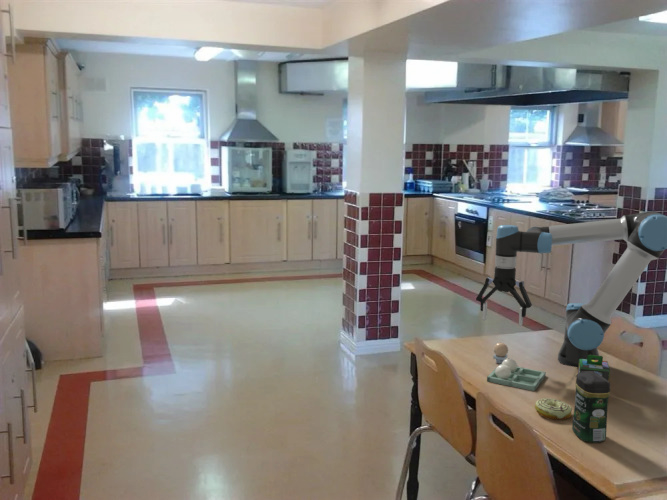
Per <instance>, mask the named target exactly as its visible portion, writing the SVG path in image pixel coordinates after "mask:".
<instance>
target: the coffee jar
mask: <svg viewBox="0 0 667 500" xmlns="http://www.w3.org/2000/svg"><path fill="white" fill-rule="evenodd" d="M610 395H611V382H610V380H609V381H607V380H606V379H605V378H603V377H602V376H600V375H599V374H597V373H595V372H594V371H581V372H580V373H579V374H578V373H577V375H576V378H575V397H574V408H573V417H572V425H571V429H572V431H573V432H574V434H575V435H576V436H577V438H579V439H581V441H583V442H589V443H594V444H596V443H602V442H604V441H605V440H606V439H607V428H608V427H607V422H608V421H607V420H608V405H609V404H608V403H609V397H610Z"/></svg>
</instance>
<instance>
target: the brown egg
mask: <svg viewBox="0 0 667 500" xmlns="http://www.w3.org/2000/svg"><path fill="white" fill-rule="evenodd" d="M493 353H494V355H497V356H499V357H504V356H506V355H508V353H509V347H508V346H507V344H506V343H504V342H497V343H496V344H495V345H493Z"/></svg>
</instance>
